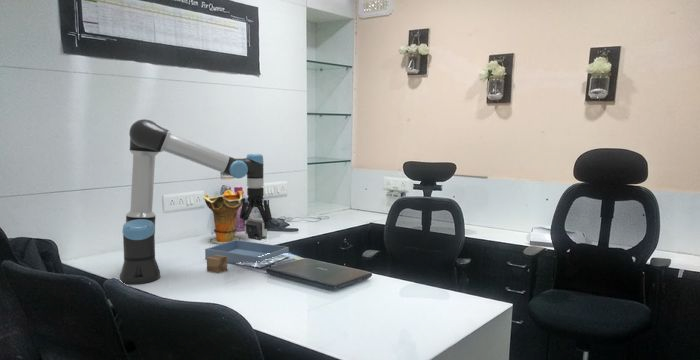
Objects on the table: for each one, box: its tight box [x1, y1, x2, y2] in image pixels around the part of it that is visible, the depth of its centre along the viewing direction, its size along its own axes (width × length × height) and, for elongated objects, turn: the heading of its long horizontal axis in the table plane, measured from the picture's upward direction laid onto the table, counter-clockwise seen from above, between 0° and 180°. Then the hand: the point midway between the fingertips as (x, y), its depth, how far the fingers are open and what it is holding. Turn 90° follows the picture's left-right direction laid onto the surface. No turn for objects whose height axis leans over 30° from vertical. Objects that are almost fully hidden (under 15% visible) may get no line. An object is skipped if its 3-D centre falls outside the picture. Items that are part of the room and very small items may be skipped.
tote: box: [204, 240, 290, 265], centre depth 230 cm, size 22×32×5 cm
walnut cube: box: [206, 255, 228, 274], centre depth 210 cm, size 6×6×6 cm
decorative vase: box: [202, 189, 245, 245], centre depth 265 cm, size 21×23×28 cm
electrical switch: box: [245, 218, 268, 241], centre depth 226 cm, size 9×5×9 cm, turn 57°
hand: (255, 234), depth 227 cm, fingers closed on electrical switch, 9 cm apart
